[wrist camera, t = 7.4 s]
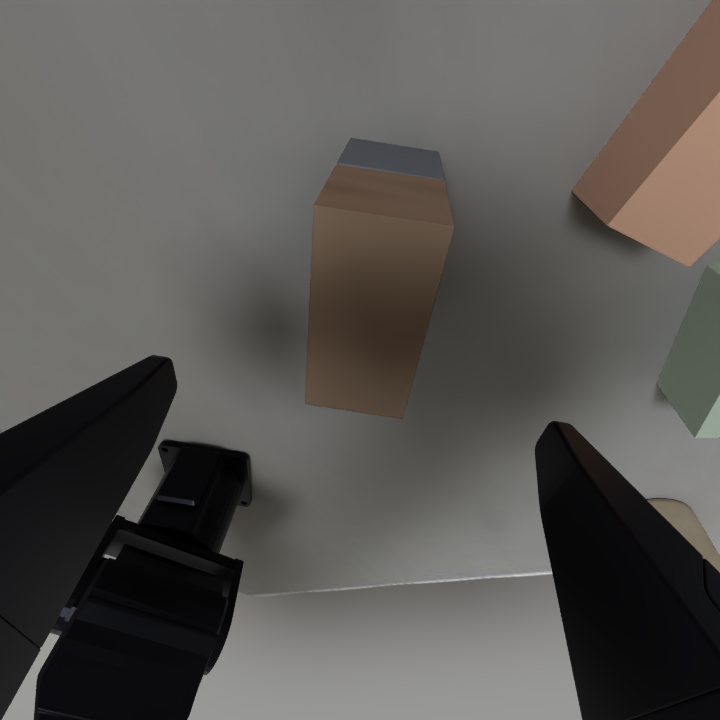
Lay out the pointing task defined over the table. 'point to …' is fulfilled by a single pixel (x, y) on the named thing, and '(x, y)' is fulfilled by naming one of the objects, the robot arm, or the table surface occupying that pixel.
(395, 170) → the charcoal block
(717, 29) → the terracotta block
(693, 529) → the candle
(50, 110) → the table surface
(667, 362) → the sage block
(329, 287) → the walnut block
